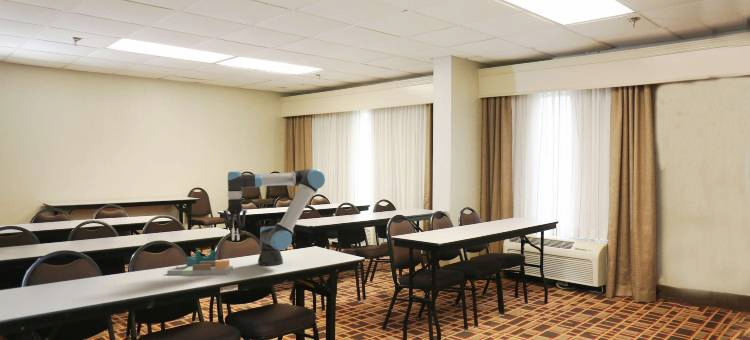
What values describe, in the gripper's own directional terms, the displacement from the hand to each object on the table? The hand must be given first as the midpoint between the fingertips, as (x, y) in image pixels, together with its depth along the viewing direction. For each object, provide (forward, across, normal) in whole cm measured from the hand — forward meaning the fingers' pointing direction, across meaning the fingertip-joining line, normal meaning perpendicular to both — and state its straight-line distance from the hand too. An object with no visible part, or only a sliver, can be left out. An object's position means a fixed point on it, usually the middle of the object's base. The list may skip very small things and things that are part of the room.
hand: (235, 239), depth 300 cm
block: (+16, +8, 0) cm, 18 cm away
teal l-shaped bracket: (+19, +28, -18) cm, 38 cm away
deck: (+18, +20, 0) cm, 27 cm away
